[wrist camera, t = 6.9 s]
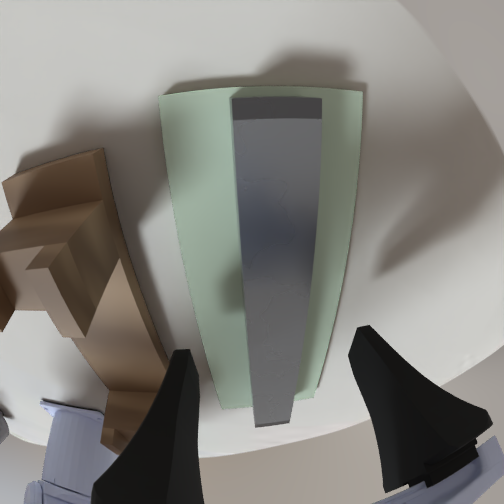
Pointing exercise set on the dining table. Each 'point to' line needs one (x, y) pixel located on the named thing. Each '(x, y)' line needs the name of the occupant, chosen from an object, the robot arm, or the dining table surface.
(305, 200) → the rail
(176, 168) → the pad
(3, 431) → the coffee pot
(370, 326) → the robot arm
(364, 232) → the dining table surface
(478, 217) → the dining table surface
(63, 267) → the rack
